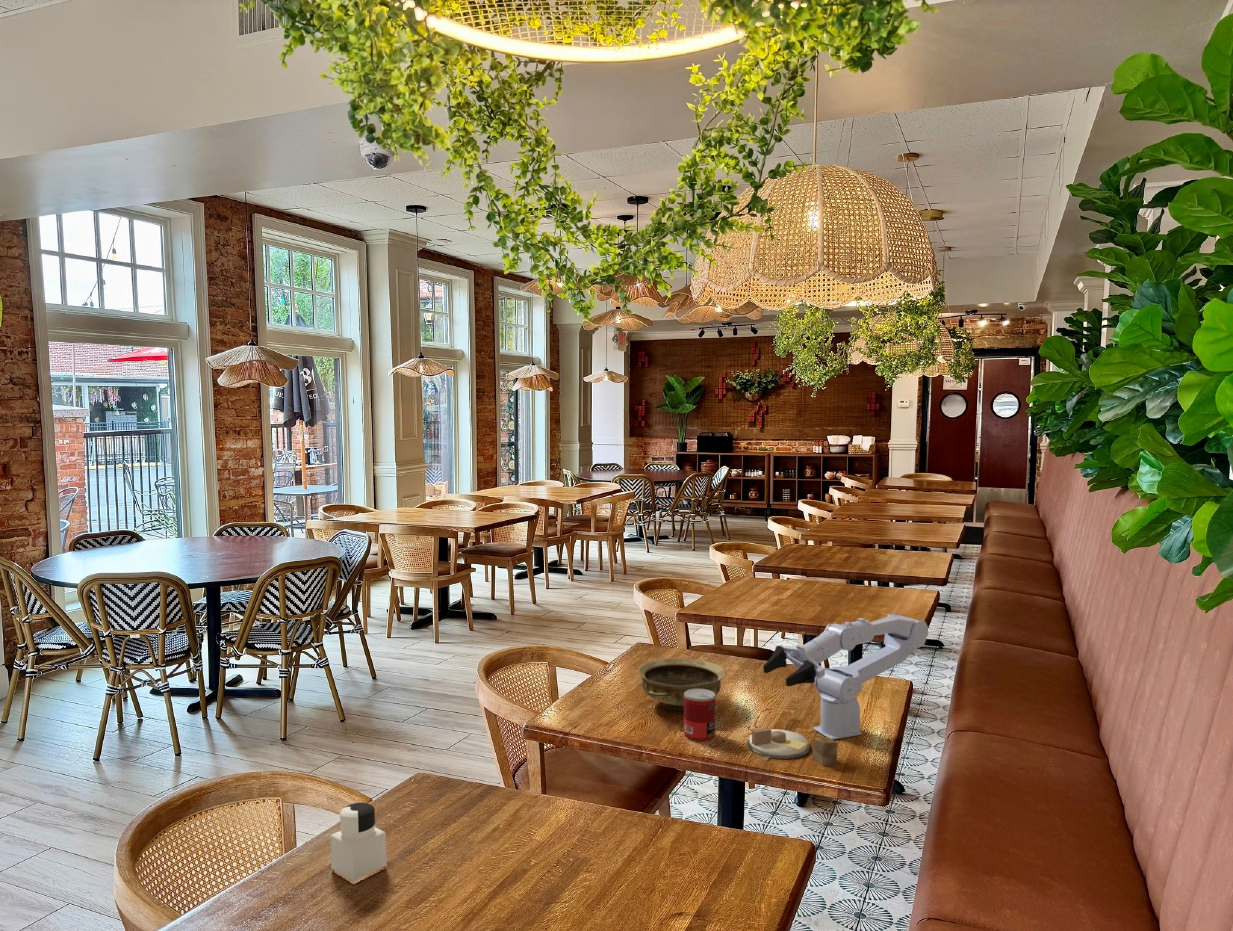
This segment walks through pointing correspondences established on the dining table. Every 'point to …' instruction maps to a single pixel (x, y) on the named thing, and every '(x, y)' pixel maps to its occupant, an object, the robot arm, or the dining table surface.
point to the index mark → (766, 758)
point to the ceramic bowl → (678, 679)
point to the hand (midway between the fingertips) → (775, 675)
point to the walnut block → (824, 751)
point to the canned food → (699, 714)
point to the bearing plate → (778, 756)
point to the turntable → (777, 742)
